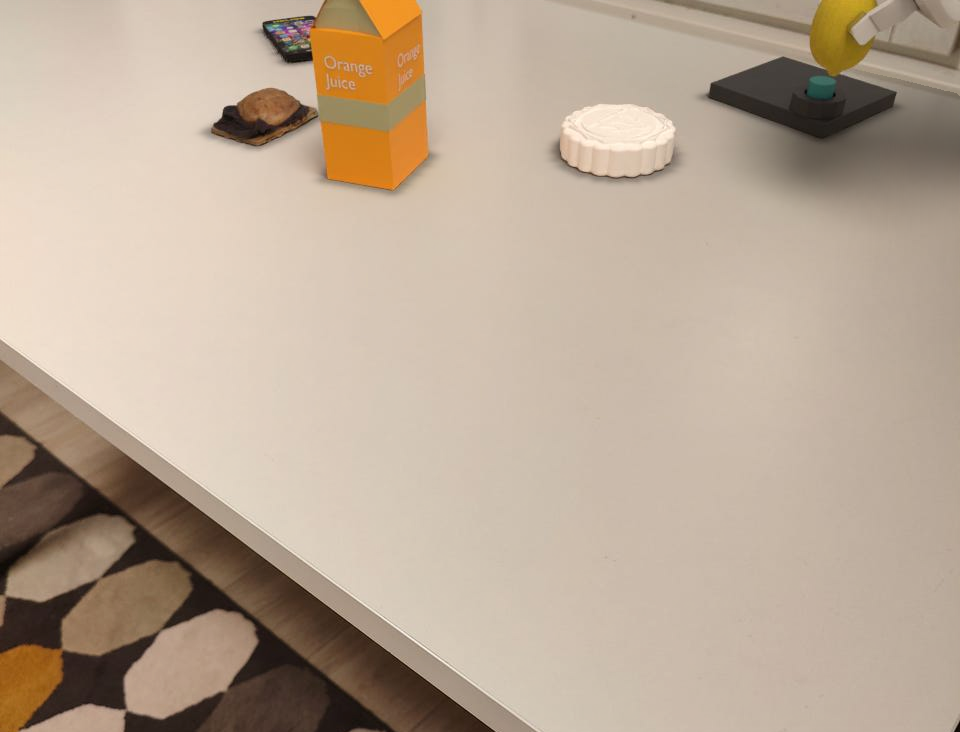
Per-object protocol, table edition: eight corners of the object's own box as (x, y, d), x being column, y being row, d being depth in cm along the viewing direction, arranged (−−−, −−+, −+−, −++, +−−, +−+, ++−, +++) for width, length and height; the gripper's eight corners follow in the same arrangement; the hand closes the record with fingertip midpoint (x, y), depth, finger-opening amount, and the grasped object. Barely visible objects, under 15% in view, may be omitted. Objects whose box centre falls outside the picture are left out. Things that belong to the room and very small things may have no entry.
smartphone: (284, 55, 121) (259, 21, 132) (285, 63, 122) (260, 28, 132) (343, 47, 123) (314, 14, 134) (344, 55, 124) (315, 21, 134)
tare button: (837, 96, 104) (841, 80, 103) (822, 103, 103) (826, 87, 102) (816, 89, 106) (819, 73, 105) (800, 96, 105) (804, 79, 103)
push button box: (893, 106, 110) (902, 75, 108) (820, 139, 103) (827, 107, 101) (780, 69, 119) (786, 40, 117) (706, 98, 113) (710, 67, 110)
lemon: (842, 92, 83) (866, -7, 78) (789, 76, 86) (808, -21, 81) (876, 76, 86) (901, -21, 80) (823, 61, 89) (844, -33, 83)
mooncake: (628, 189, 95) (632, 155, 92) (536, 156, 101) (537, 122, 98) (694, 152, 101) (699, 118, 99) (604, 122, 107) (607, 90, 105)
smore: (270, 102, 113) (265, 70, 110) (324, 117, 109) (320, 84, 107) (204, 131, 106) (198, 98, 104) (259, 148, 103) (253, 114, 100)
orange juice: (326, 178, 97) (299, -37, 84) (364, 145, 103) (345, -61, 90) (395, 190, 95) (378, -29, 81) (430, 156, 101) (421, -54, 87)
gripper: (1069, -47, 71) (905, 92, 77) (944, -105, 86) (815, 15, 92) (1034, -114, 68) (866, 37, 74) (911, -162, 83) (780, -34, 89)
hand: (837, 24), depth 83 cm, fingers closed on lemon, 5 cm apart
